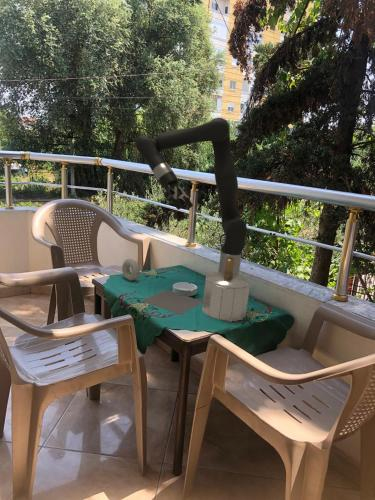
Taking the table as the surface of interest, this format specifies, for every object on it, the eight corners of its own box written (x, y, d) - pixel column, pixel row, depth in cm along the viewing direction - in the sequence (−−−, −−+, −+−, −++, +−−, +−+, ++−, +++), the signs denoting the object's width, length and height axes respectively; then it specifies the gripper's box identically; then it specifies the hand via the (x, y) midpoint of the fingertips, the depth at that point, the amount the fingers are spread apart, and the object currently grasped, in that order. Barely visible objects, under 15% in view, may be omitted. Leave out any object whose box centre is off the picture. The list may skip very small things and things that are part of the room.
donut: (119, 277, 187) (121, 256, 184) (125, 276, 189) (127, 255, 187) (134, 284, 181) (135, 262, 178) (140, 282, 183) (141, 261, 181)
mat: (166, 291, 176) (166, 289, 176) (204, 303, 167) (204, 301, 167) (140, 302, 161) (140, 300, 161) (180, 316, 152) (180, 314, 152)
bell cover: (215, 301, 170) (221, 250, 165) (251, 312, 162) (259, 259, 156) (194, 312, 156) (200, 257, 151) (233, 325, 148) (241, 268, 143)
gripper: (161, 170, 163) (182, 203, 160) (180, 170, 175) (200, 201, 172) (149, 182, 167) (170, 214, 164) (169, 181, 178) (188, 211, 176)
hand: (185, 207), depth 168 cm, fingers open, 8 cm apart
